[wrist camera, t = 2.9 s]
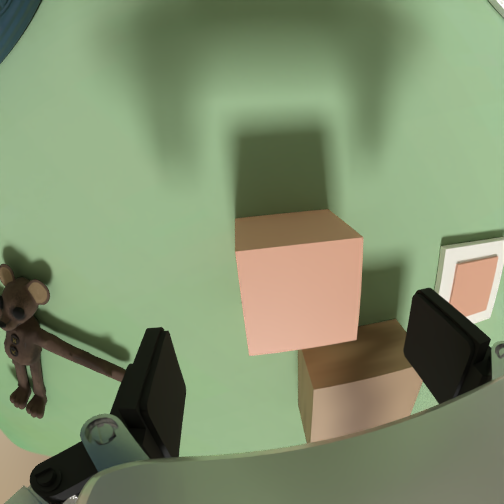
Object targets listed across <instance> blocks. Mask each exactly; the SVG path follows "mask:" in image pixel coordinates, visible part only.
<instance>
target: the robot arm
mask: <svg viewBox="0 0 504 504" xmlns="http://www.w3.org/2000/svg"><path fill="white" fill-rule="evenodd" d="M488 1H489V2H490V3H491V4H492V5H493V6H494V8H495V9H496V10H497V11H498V12H499V13H500V14H501V15H502V16H503V18H504V0H488ZM490 340H491V339H490V338H489V337H488V336H487V335H486V334H485V333H484V332H482V331H481V330H480V329H479V328H478V327H477V326H476V325H474V324H473V323H472V322H471V321H470V320H469V319H468V318H466V317H465V316H464V315H463V314H462V313H461V312H459V311H458V310H457V309H456V308H455V307H453V306H452V305H451V304H450V303H449V302H447V301H446V300H445V299H444V298H443V297H441V296H440V295H439V294H438V293H436V292H435V291H434V290H433V289H431V288H426V289H421V290H418V291H417V292H416V293H415V295H413V298H412V304H411V310H410V316H409V322H408V328H407V333H406V338H405V343H404V348H403V352H404V356H405V358H406V359H407V360H408V362H409V363H410V364H411V366H412V367H413V368H414V370H415V371H416V372H417V374H418V375H419V376H420V378H421V379H422V381H423V382H424V383H425V385H426V386H427V387H428V389H429V390H430V392H431V393H432V394H433V396H434V397H435V399H436V400H437V401H438V403H439V405H436V406H434V407H431V408H429V409H426V410H424V411H421V412H418V413H415V414H413V415H410V416H407V417H404V418H401V419H398V420H395V421H392V422H389V423H386V424H383V425H380V426H376V427H373V428H370V429H366V430H362V431H359V432H355V433H351V434H347V435H343V436H339V437H335V438H331V439H326V440H322V441H317V442H312V443H307V444H301V445H296V446H290V447H284V448H277V449H270V450H263V451H254V452H245V453H235V454H224V455H210V456H189V457H179V448H180V439H181V430H182V421H183V413H184V405H185V397H186V386H185V383H184V380H183V376H182V373H181V370H180V367H179V364H178V360H177V357H176V354H175V350H174V347H173V344H172V340H171V337H170V333H169V331H164V329H163V328H162V327H159V328H147V329H146V332H145V334H144V337H143V339H142V342H141V344H140V347H139V350H138V352H137V355H136V357H135V360H134V363H133V364H129V365H128V367H127V369H126V371H125V374H124V377H123V379H122V382H121V385H120V387H119V390H118V393H117V395H116V398H115V401H114V404H113V406H112V409H111V412H110V414H100V415H97V416H94V417H92V418H90V419H89V420H87V421H86V422H85V424H84V425H83V427H82V429H81V432H80V437H81V440H82V441H81V442H79V443H77V444H76V445H74V446H72V447H70V448H68V449H66V450H65V451H63V452H61V453H59V454H57V455H55V456H53V457H51V458H49V459H47V460H46V461H44V462H42V463H40V464H38V465H37V466H36V467H35V468H34V469H33V470H32V473H31V475H30V484H31V485H30V486H29V487H28V488H26V487H25V486H23V487H22V488H21V489H20V490H19V491H17V492H16V493H15V494H14V495H13V496H12V497H11V498H10V499H9V500H8V501H7V502H5V503H4V504H504V341H499V342H496V343H495V344H494V345H493V346H492V348H491V347H490V346H489V343H490Z"/></svg>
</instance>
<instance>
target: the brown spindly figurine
mask: <svg viewBox="0 0 504 504" xmlns="http://www.w3.org/2000/svg"><path fill="white" fill-rule="evenodd" d="M0 280H1V282H2V283H3V285H4V286H5V289H4V291H3V293H2V296H0V327H1V328H2V329H3V330H5V331H6V339H5V341H4V345H5V352H6V353H7V355H8V357H9V358H11V359H12V362H13V364H14V365H15V369H16V374H17V378H18V386H19V387H18V388H17V389H16V390H15V391H14V392H13V393H12V394H11V396H10V401H11V403H14V406H15V407H17V408H18V407H19V408H20V409H24V408H25V407H26V411H27V413H28V414H30V413H31V416H32V417H36V416H37V417H38V418H39V419H41V418H42V417H43V416H44V411H45V405H46V403H47V397H46V390H45V388H44V384H43V378H42V371H41V364H40V354H41V351H42V348H44V349H46V350H49V351H51V352H53V353H55V354H57V355H59V356H62V357H64V358H66V359H68V360H71V361H73V362H75V363H78V364H80V365H83V366H85V367H87V368H90V369H92V370H94V371H96V372H99V373H101V374H104V375H106V376H108V377H111V378H113V379H115V380H117V381H120V382H122V379H123V377H124V374H125V371H126V370H125V369H123V368H121V367H119V366H117V365H115V364H112V363H110V362H108V361H106V360H103V359H101V358H98V357H96V356H94V355H92V354H90V353H89V352H86V351H84V350H81V349H79V348H77V347H74V346H72V345H70V344H68V343H67V342H65V341H63V340H61V339H60V338H58V337H57V336H55V335H53V334H51V333H49V332H47V331H45V330H43V329H41V328H40V326H39V323H38V321H37V319H36V318H35V317H34V316H33V315H34V313H35V312H36V310H37V308H38V305H44V304H46V303H47V302H48V301H49V298H50V293H49V290H48V288H47V287H46V285H45V284H44V283H42V282H41V281H39V280H37V279H33V280H31V281H30V280H29V279H27V278H25V277H19V278H16V279H15V277H14V273H13V271H12V269H11V268H10V267H9V266H8V265H6V264H1V265H0ZM25 365H30V370H31V375H32V380H33V386H34V387H33V392H34V394H35V395H34V396H33V398H32V399H31V400H30V401H29V403H28V404H27V402H28V399H29V397H30V395H31V392H32V391H31V388H30V385H29V382H28V377H27V373H26V368H25ZM26 405H27V406H26Z"/></svg>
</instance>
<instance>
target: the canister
mask: <svg viewBox="0 0 504 504" xmlns="http://www.w3.org/2000/svg"><path fill="white" fill-rule="evenodd" d="M40 1H41V0H0V63H1V62H2V61H3V60H4V59H5V57H6V56H7V55H8V54H9V52H10V51H11V50H12V48H13V47H14V45H15V44H16V43H17V41H18V40H19V38H20V37H21V35H22V34H23V32H24V31H25V29H26V27H27V26H28V24H29V22H30V21H31V19H32V17H33V15H34V13H35V12H36V10H37V8H38V6H39V3H40Z"/></svg>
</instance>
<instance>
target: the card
mask: <svg viewBox="0 0 504 504" xmlns="http://www.w3.org/2000/svg"><path fill="white" fill-rule="evenodd" d="M503 265H504V237H499V238H492V239H486V240H479V241H472V242H466V243H459V244H452V245H445V246H441V249H440V257H439V264H438V271H437V278H436V284H435V290H434V291H435V292H436V293H438V294H439V295H440V296H441V297H443V298H444V299H445V300H446V301H447V302H449V303H450V304H451V305H452V306H453V307H455V308H456V309H457V310H458V311H459V312H461V313H462V314H463V315H464V316H465V317H466V318H468V319H469V320H470V321H471V322H472V323H473V324H475V323H477V322H480V321H483V320H486V319H489V318H490V316H491V313H492V309H493V306H494V302H495V299H496V295H497V291H498V287H499V283H500V279H501V274H502V269H503Z"/></svg>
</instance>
